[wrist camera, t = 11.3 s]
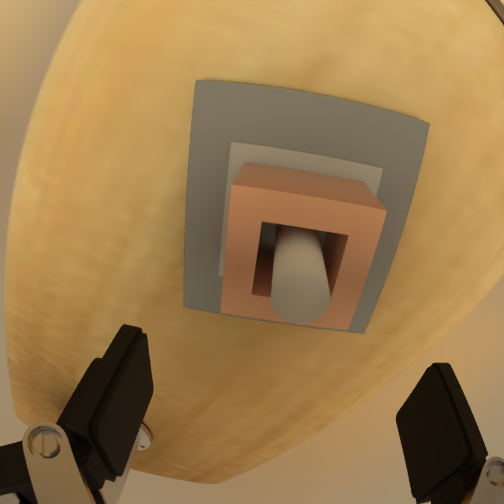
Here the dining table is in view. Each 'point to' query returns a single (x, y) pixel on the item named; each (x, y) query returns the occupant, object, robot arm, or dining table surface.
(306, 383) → the dining table surface
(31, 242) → the dining table surface
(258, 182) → the collar
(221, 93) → the post board
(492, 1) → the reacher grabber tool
